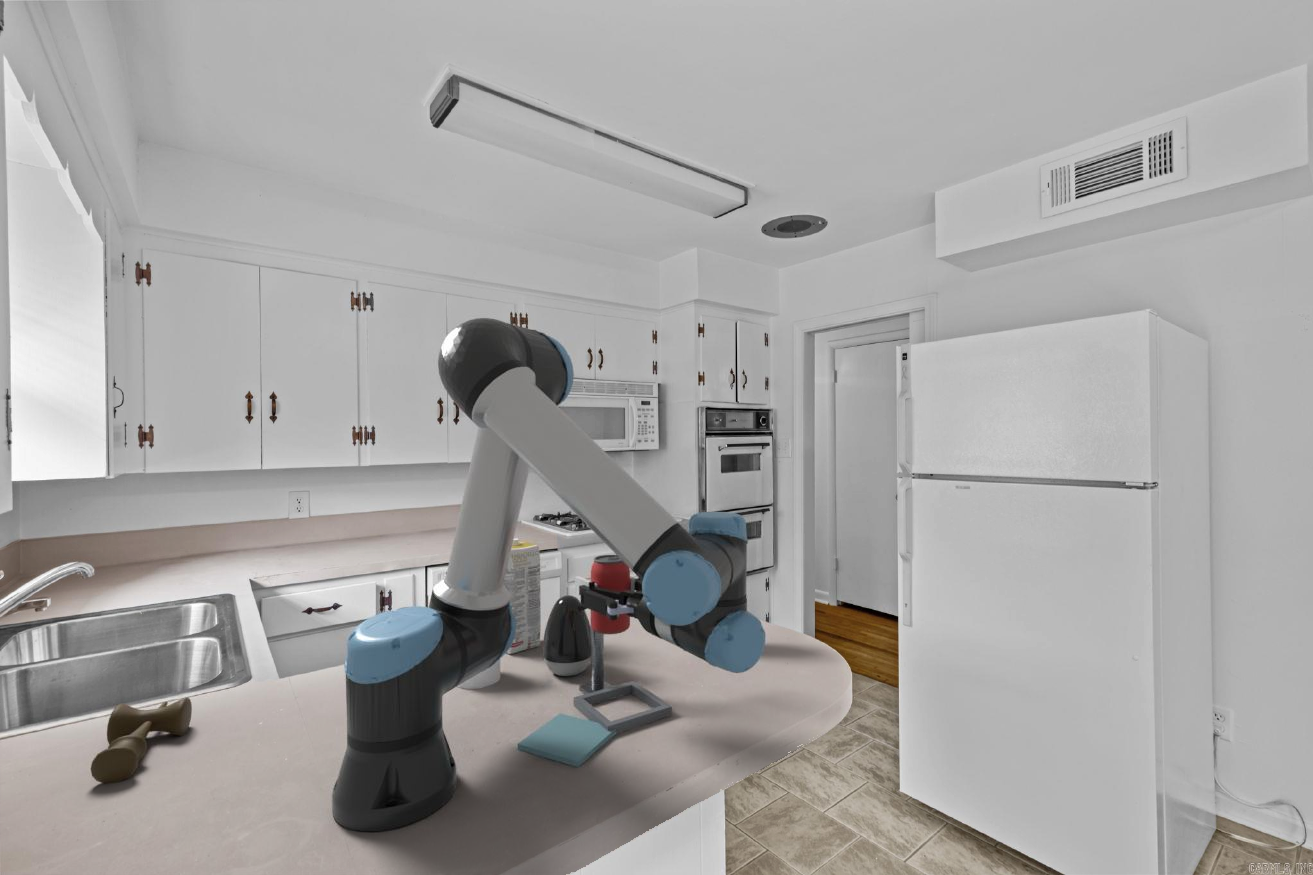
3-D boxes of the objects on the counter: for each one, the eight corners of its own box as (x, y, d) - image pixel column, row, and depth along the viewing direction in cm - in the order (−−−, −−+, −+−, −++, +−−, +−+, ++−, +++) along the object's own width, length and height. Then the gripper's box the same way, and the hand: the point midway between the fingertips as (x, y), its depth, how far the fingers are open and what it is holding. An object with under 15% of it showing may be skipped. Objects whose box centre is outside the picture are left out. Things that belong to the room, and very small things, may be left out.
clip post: (615, 693, 110) (615, 596, 110) (591, 699, 108) (591, 601, 107) (602, 683, 115) (602, 590, 114) (579, 689, 112) (578, 594, 112)
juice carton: (526, 637, 140) (526, 534, 140) (545, 646, 134) (544, 539, 134) (489, 647, 134) (488, 540, 133) (507, 657, 128) (506, 545, 128)
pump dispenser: (585, 683, 115) (585, 604, 114) (534, 679, 117) (533, 601, 116) (601, 663, 125) (600, 590, 124) (553, 659, 127) (553, 587, 126)
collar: (672, 715, 102) (672, 706, 102) (607, 735, 95) (607, 726, 95) (633, 688, 112) (633, 680, 112) (573, 705, 105) (573, 697, 105)
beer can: (637, 626, 102) (637, 556, 102) (615, 638, 97) (615, 564, 97) (606, 620, 106) (605, 552, 106) (582, 631, 100) (582, 559, 100)
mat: (578, 767, 86) (578, 761, 86) (517, 749, 91) (517, 743, 91) (616, 732, 96) (616, 727, 96) (560, 717, 101) (560, 713, 101)
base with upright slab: (498, 667, 123) (498, 608, 123) (502, 685, 114) (501, 622, 114) (452, 673, 120) (451, 613, 120) (452, 691, 111) (451, 627, 111)
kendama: (66, 796, 81) (130, 724, 99) (155, 782, 84) (200, 715, 103) (66, 752, 81) (130, 688, 99) (156, 740, 84) (201, 681, 103)
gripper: (615, 655, 81) (543, 612, 100) (724, 627, 92) (641, 593, 111) (615, 599, 81) (543, 567, 100) (724, 578, 92) (641, 553, 111)
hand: (595, 581), depth 105 cm, fingers closed on beer can, 6 cm apart
